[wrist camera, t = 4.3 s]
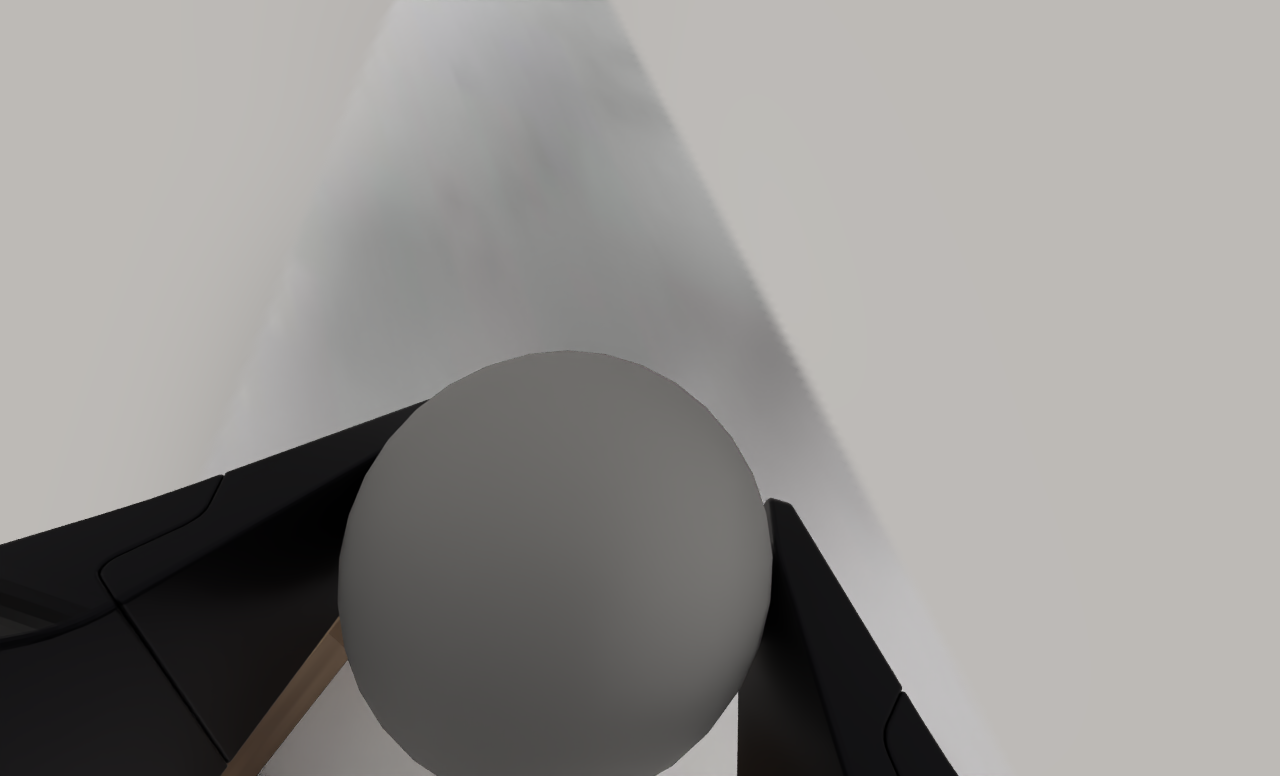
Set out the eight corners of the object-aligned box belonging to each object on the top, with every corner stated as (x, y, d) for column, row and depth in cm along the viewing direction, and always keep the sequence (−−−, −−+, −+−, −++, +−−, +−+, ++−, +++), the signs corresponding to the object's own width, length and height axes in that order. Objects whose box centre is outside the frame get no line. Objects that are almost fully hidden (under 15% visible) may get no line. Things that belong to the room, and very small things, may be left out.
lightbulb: (738, 577, 15) (969, 794, 4) (550, 658, 15) (274, 1128, 4) (661, 395, 16) (687, 202, 5) (485, 466, 16) (138, 409, 5)
